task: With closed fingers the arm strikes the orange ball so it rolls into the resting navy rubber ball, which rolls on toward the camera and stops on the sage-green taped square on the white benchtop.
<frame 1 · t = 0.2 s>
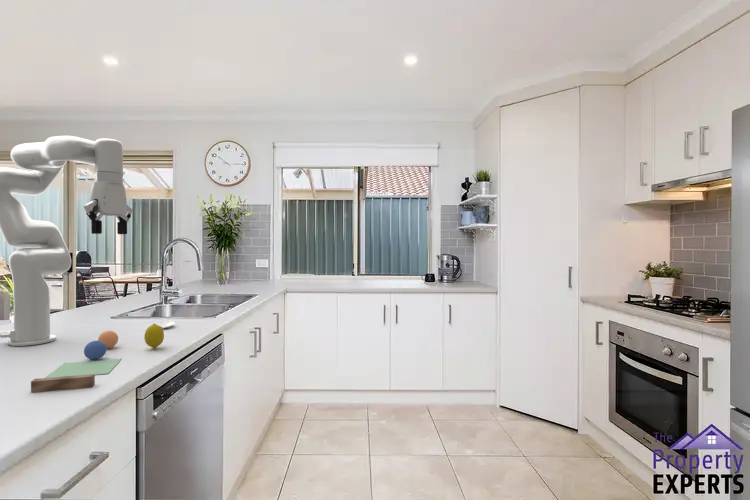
hand: (109, 233, 135), 36 cm above the countertop, tool pointing down, fingers open, 9 cm apart
green mark: (85, 368, 116), on the countertop
lemon: (154, 349, 137), on the countertop
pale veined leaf: (163, 329, 170), on the countertop
navy ball: (95, 350, 124), on the countertop
orange ball: (108, 339, 137), on the countertop
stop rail: (63, 388, 100), on the countertop
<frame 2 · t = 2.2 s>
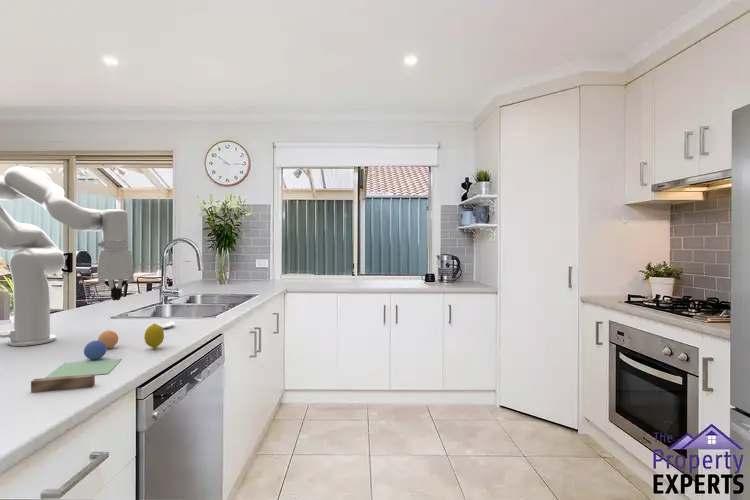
hand: (116, 299, 146), 14 cm above the countertop, tool pointing down, fingers closed
nothing on the countertop moved.
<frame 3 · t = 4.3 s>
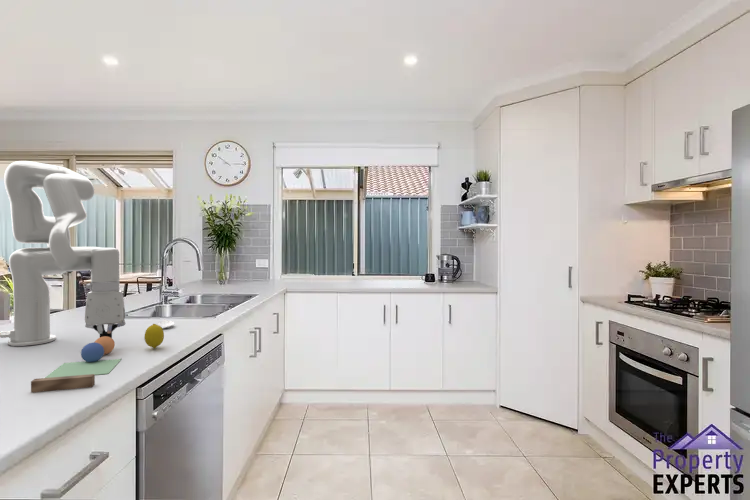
hand: (105, 345, 134), 2 cm above the countertop, tool pointing down, fingers closed
navy ball: (92, 352, 122), on the countertop
orange ball: (104, 345, 130), on the countertop
everything else where it was.
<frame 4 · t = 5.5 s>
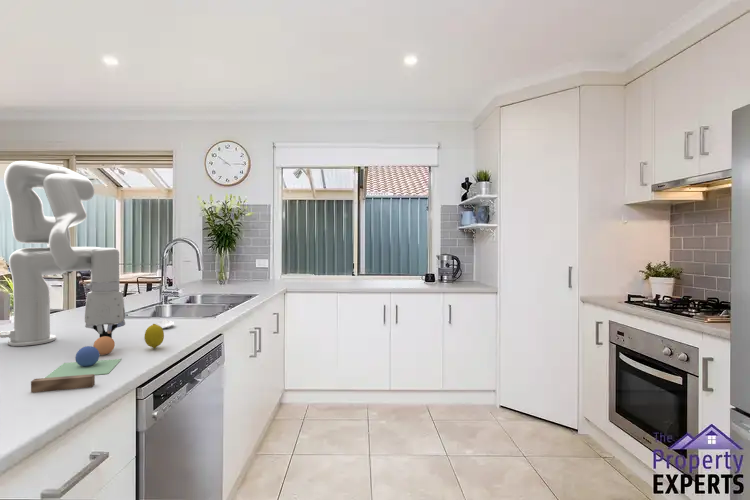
hand: (105, 345, 134), 2 cm above the countertop, tool pointing down, fingers closed
navy ball: (87, 356, 118), on the countertop
everything else where it was.
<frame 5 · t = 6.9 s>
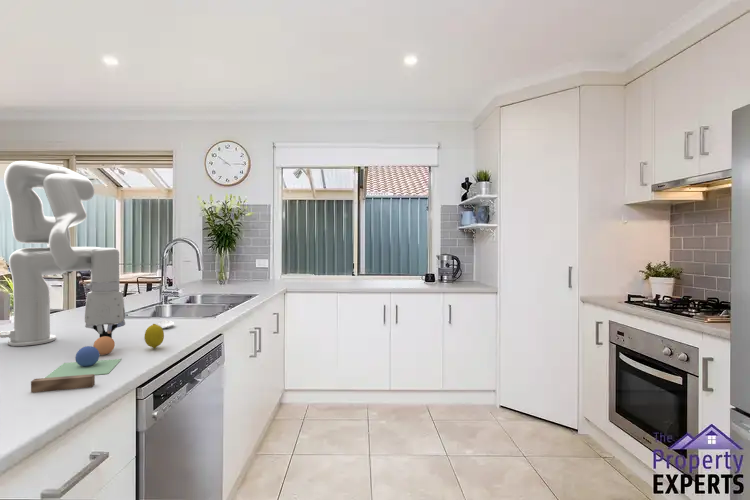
hand: (105, 345, 134), 2 cm above the countertop, tool pointing down, fingers closed
nothing on the countertop moved.
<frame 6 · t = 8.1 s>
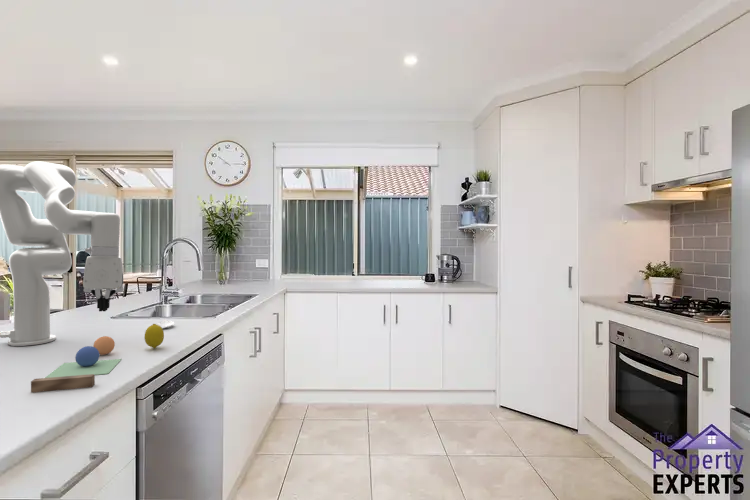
hand: (103, 310, 134), 12 cm above the countertop, tool pointing down, fingers closed
nothing on the countertop moved.
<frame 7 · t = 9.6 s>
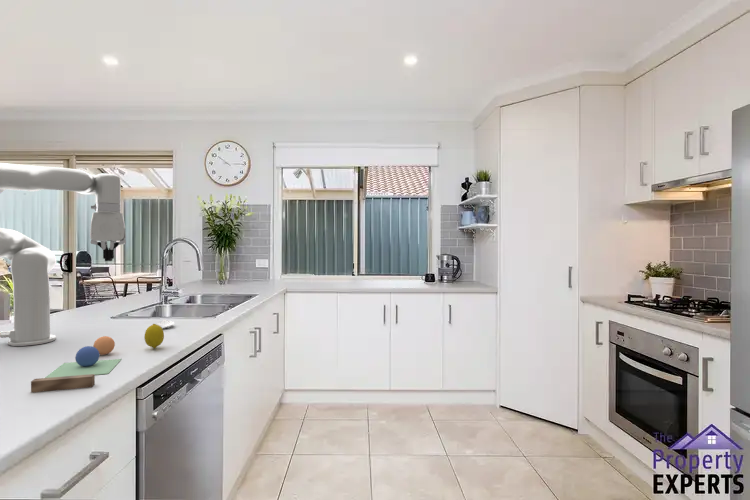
hand: (108, 260, 152), 27 cm above the countertop, tool pointing down, fingers closed
nothing on the countertop moved.
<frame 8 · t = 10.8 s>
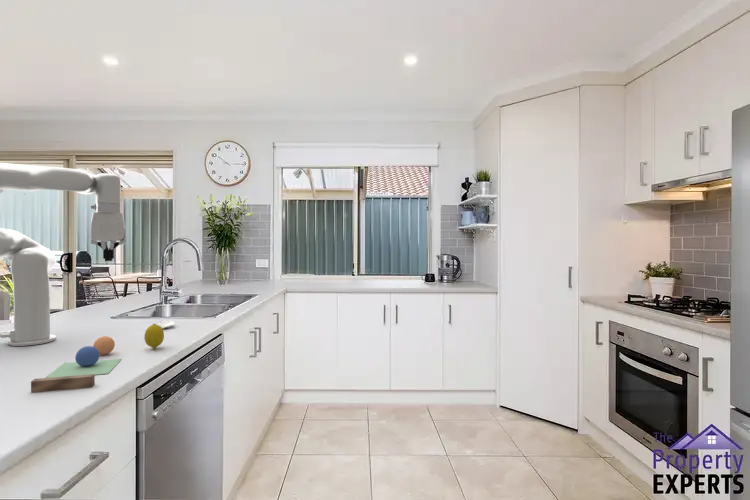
hand: (108, 260, 152), 27 cm above the countertop, tool pointing down, fingers closed
nothing on the countertop moved.
at the end: navy ball 2.2 cm from the green mark (horizontally); navy ball never touched the robot; orange ball first touched navy ball at 4.0 s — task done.
